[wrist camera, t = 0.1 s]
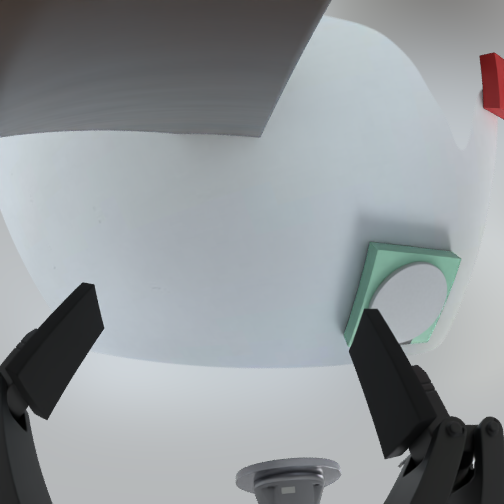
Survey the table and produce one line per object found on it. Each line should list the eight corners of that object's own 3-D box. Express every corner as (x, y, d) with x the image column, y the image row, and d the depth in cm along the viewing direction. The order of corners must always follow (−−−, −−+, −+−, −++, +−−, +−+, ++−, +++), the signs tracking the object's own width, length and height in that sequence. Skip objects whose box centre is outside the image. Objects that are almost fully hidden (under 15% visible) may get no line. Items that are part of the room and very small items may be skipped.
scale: (420, 332, 29) (429, 345, 26) (343, 335, 28) (349, 350, 26) (451, 251, 24) (464, 261, 22) (369, 241, 24) (380, 252, 22)
